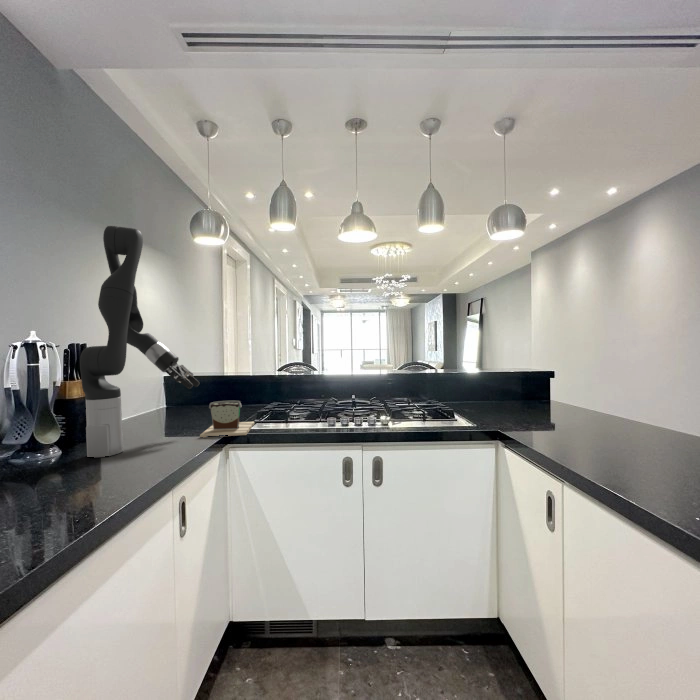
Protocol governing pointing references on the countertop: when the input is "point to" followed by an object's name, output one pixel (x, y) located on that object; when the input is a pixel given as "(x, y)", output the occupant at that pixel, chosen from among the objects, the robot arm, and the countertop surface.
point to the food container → (225, 414)
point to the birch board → (229, 430)
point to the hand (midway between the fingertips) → (194, 386)
